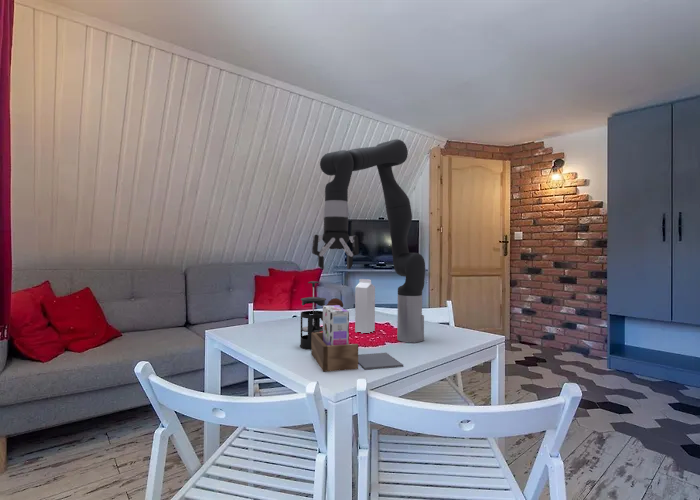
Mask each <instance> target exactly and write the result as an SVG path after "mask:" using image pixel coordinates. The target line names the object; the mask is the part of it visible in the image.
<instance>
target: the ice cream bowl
mask: <svg viewBox="0 0 700 500" xmlns="http://www.w3.org/2000/svg"><path fill="white" fill-rule="evenodd" d="M333 305H339V306H341V307H342V308H344V303H343V300H341V299H340V298H336V297H335V298H331V299H330V300H328V302H327V304H325V306H333ZM320 321H321V322H323V318H320Z"/></svg>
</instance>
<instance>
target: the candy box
mask: <svg viewBox="0 0 700 500" xmlns="http://www.w3.org/2000/svg"><path fill="white" fill-rule="evenodd" d="M322 311H323V321H322V327H323V331H322V332H323V342H324V343H325V344H326V345H327V346H329V345H345V344H350V343H349V342H350V337H349V335H350V334H349V333H350V311H349V310H347V309H345V308H344V307H343V308H342V307H341V306H339V305H333V306H326V305H324V306H322Z"/></svg>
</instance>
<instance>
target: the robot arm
mask: <svg viewBox="0 0 700 500" xmlns="http://www.w3.org/2000/svg"><path fill="white" fill-rule="evenodd" d="M408 155H409V150H408V148H407V145H406V143H405V142H404V141H403V140H401V139H397V138H395V139H391V140H387V141H385V142H381V143H378V144H377V145H375V146H368V147H359V148H351V149H349V150H346V149H344V150H343V149H342V150H336V151H332V152H327V153H325V154H324V155H323V156H322V157H321V159H320V162H319V166H320V170H321V171H322V172H323V174H324V175H327V176H334V177H333V179H332V180H331V181H329V182H327V183H326V185H325V187H324V188H325V189H324V207H323V234H322V235H320V234H319V235H318V234H314V235H313V236H312V237H313V238H312V246H311V247H312V249H311V253H312V255H316V256H317V259H318V260H317V266H318V268H320V270H324V269H325V267H324V266H325V257H324V255H325V254H326V252H328V250H329V249H330V250H342V251H343V252H344V253H345V254H346V255H347V256H346V269H347V270H351V268H353V265H354V261H353V259H354V256H357V255H359V253H360V250H359V249H360V247H359V236H358V235H349V214H350V213H349V203H348V199H349V198H348V195H349V194H348V193H349V192H348V191H349V186H350V183H351V179H352V175H353V172H357V171H362V170H367V169H370V168H373V167H376V168H377V171H378V172H377V173H378V175H379V179H380V183H381V187H382V192H383V199H384V204H385V205H384V206H385V210H386V216H387V217H386V218H387V220H388V228H389V234H390V241H391V251H392V263H393V268H394V271H395V273H396V274H397V275H398V276H401V277H405V279H404V280H405V281H404V283H403V284H402V285H399V286H398V287H397V318H396V319H397V321H396V323H397V324H396V325H397V331H396V332H397V333H396V336H397V337H396V338H397V339H396V340H397V341H400V342H404V343H420V342H423V341H425V315H423V290H424V287H425V280H426V279H425V278H426V277H425V274H426V261H425V259H424V256H423V255H422V254H420V253H418V252H410V251H409V246H408V235H409V231H410V228H411V225H412V219H413V214H412V207H411V201H410V199H409V196H408V195H407V194H406V192H405V191H404V190H403V189H402V187H401V186H400V185H399V183H397V181H396V179H395V175H394V172H393V167H395V166H399V165H402V164H403V163H405V162H406V161H407V159H408ZM321 240H322V241H323V242H324V245H323V246H322V247H321V249H320V250H318V249H319V243H320V242H321ZM349 241H350V243H352V251H351V249H350V247H349V246H348V244H347V243H349Z"/></svg>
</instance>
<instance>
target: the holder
mask: <svg viewBox="0 0 700 500" xmlns="http://www.w3.org/2000/svg"><path fill="white" fill-rule="evenodd" d="M310 351H311V352H310V355H311V357H313V359H314V361H315V362H316V363H317V365H318V366H319V368H320V369H321V371H322V372H323V373H324V372H325V373H326V372H338V371H349V370H350V371H351V370H359V364H358V355H359V344H358V343H349V344H345V345H329V346H327V345H326V344H325V343H324V342H323V331H322V332H315V333H314V332H313V333H311V350H310Z"/></svg>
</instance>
